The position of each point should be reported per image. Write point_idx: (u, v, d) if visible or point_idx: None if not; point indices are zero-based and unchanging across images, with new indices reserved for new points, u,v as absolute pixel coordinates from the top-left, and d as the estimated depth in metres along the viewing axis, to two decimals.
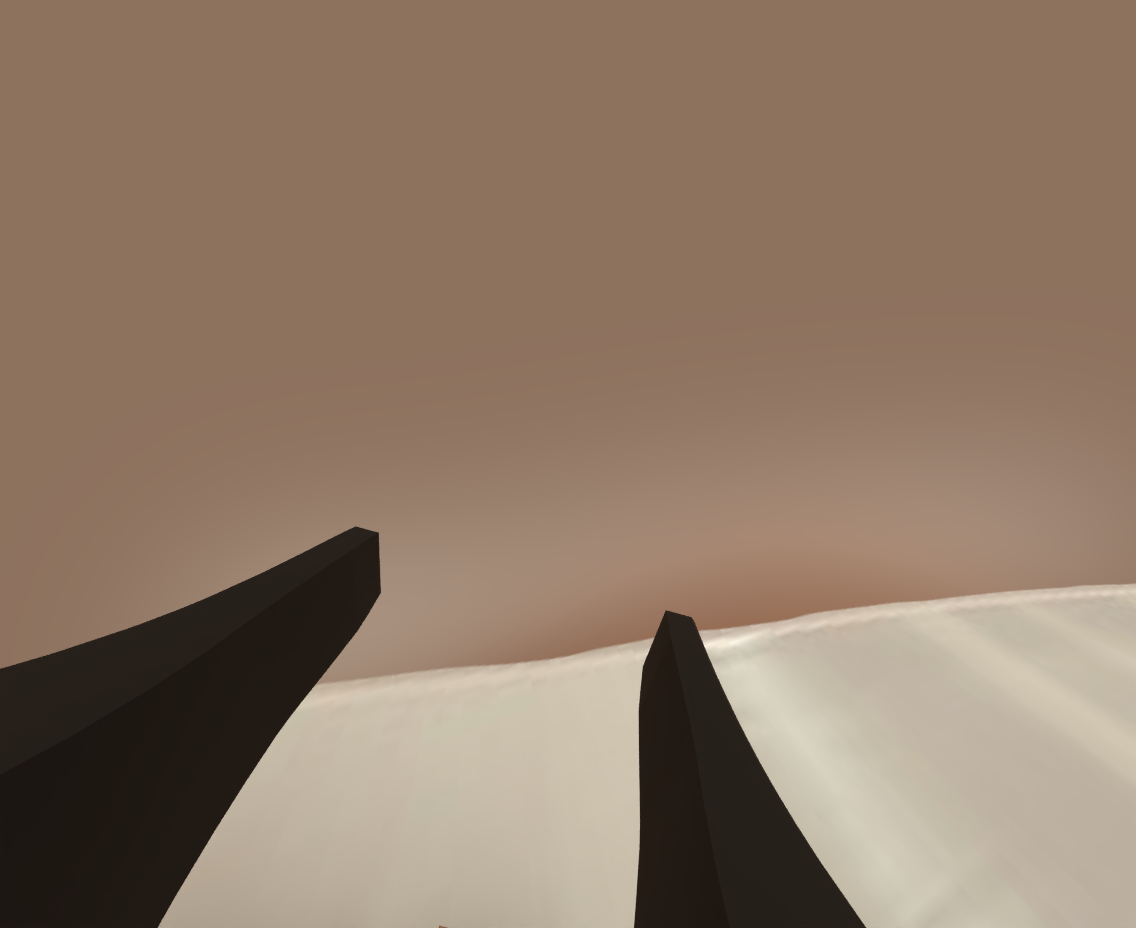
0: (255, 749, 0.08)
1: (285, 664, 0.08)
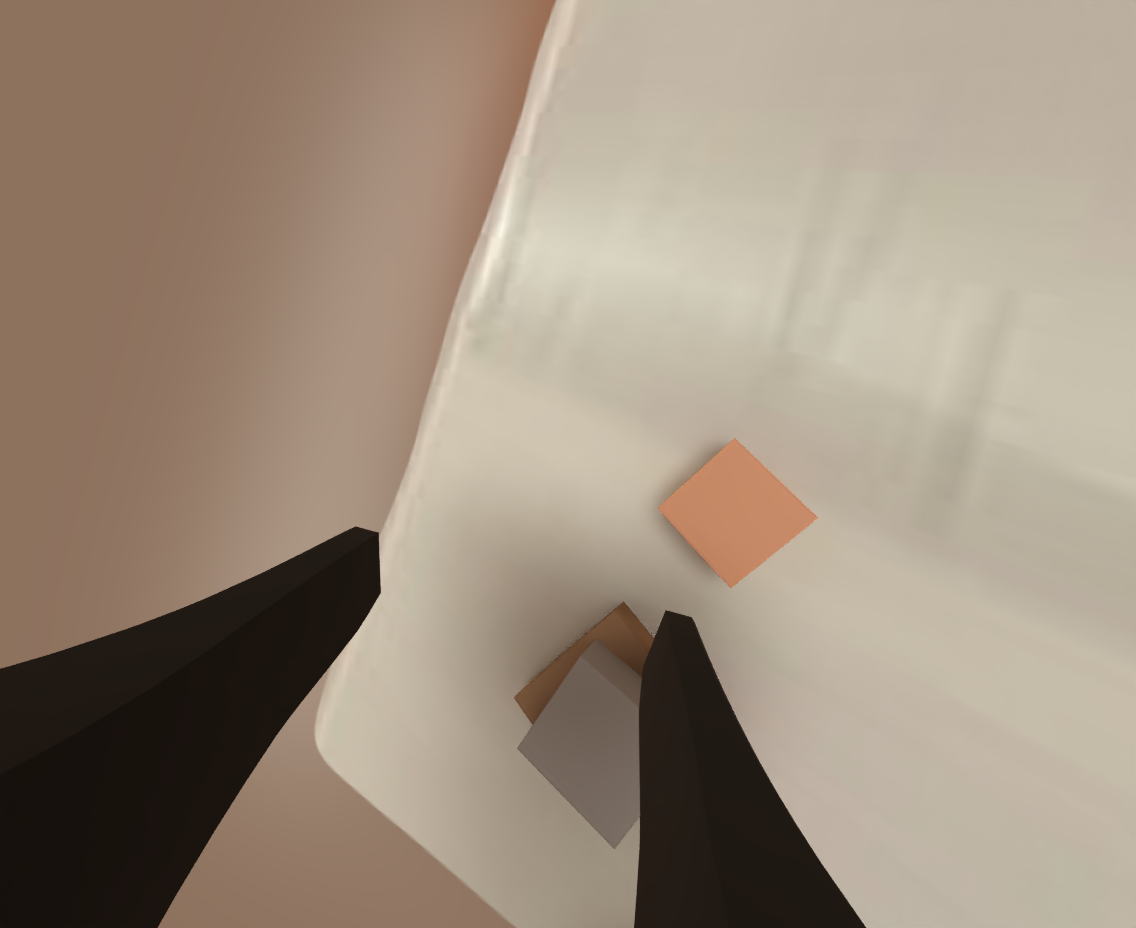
0: (255, 749, 0.08)
1: (284, 663, 0.08)
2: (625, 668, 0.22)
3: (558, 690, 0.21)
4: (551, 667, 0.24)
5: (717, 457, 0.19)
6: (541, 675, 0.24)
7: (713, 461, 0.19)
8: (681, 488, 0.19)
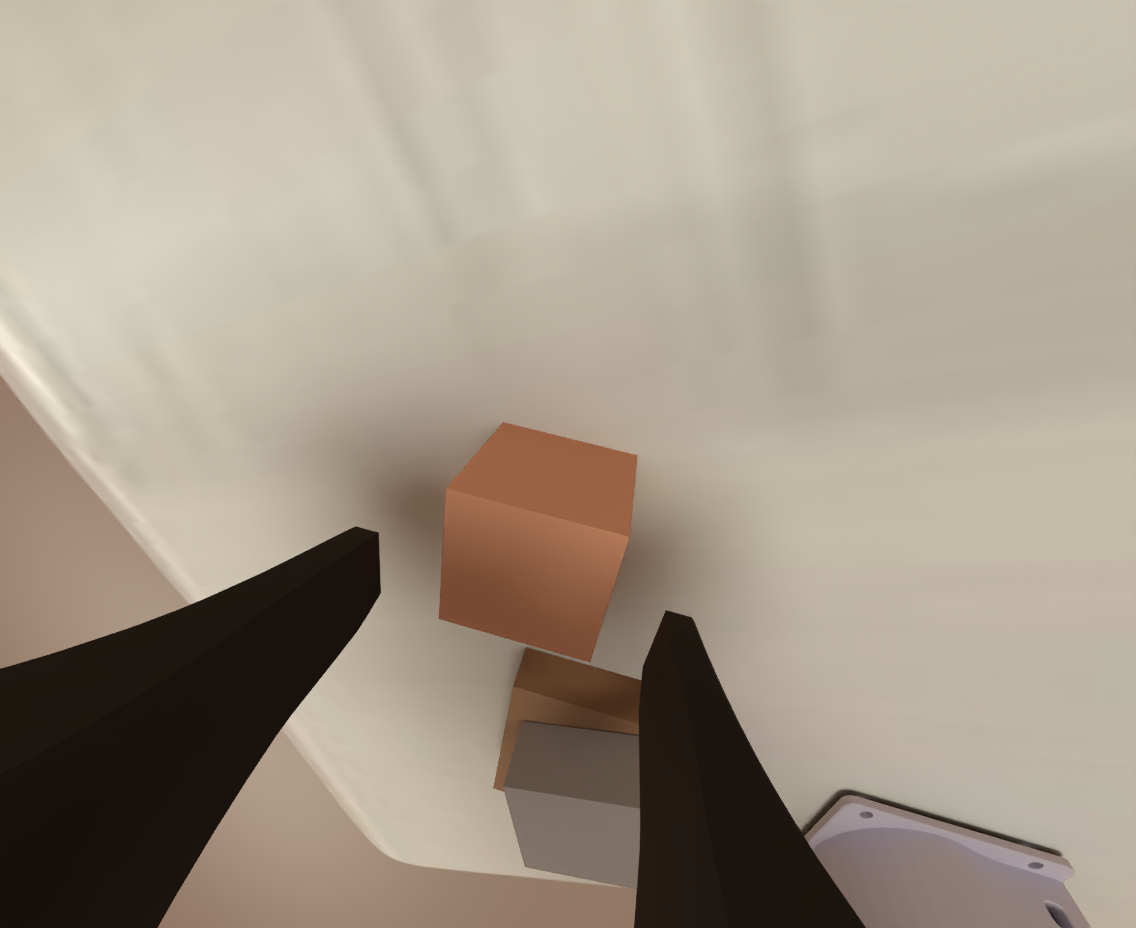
0: (255, 749, 0.08)
1: (284, 664, 0.08)
2: (566, 737, 0.17)
3: (513, 817, 0.17)
4: (501, 754, 0.20)
5: (448, 526, 0.11)
6: (499, 763, 0.20)
7: (449, 532, 0.11)
8: (443, 584, 0.12)
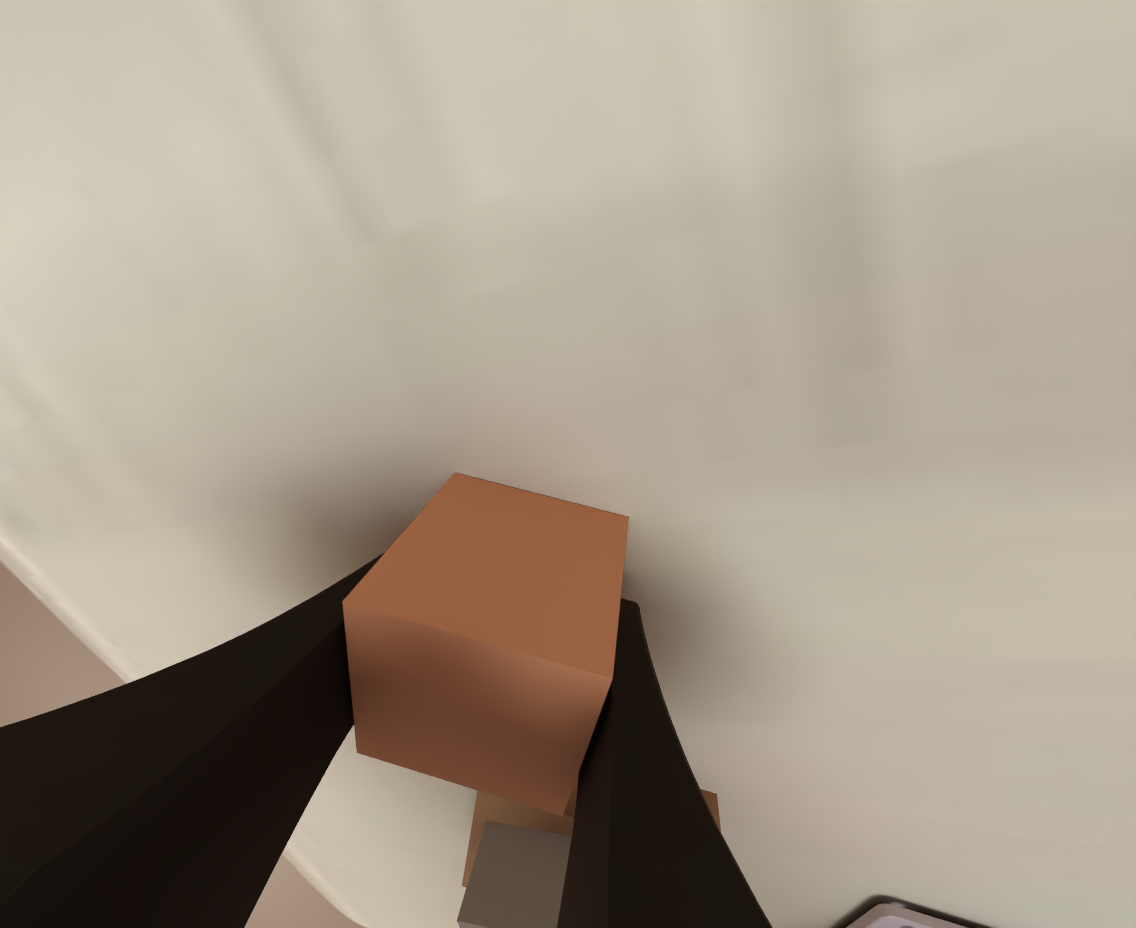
0: (318, 769, 0.08)
1: (346, 682, 0.08)
2: (539, 846, 0.14)
3: None
4: (469, 855, 0.16)
5: (352, 648, 0.08)
6: (467, 863, 0.17)
7: (355, 654, 0.08)
8: (356, 715, 0.08)
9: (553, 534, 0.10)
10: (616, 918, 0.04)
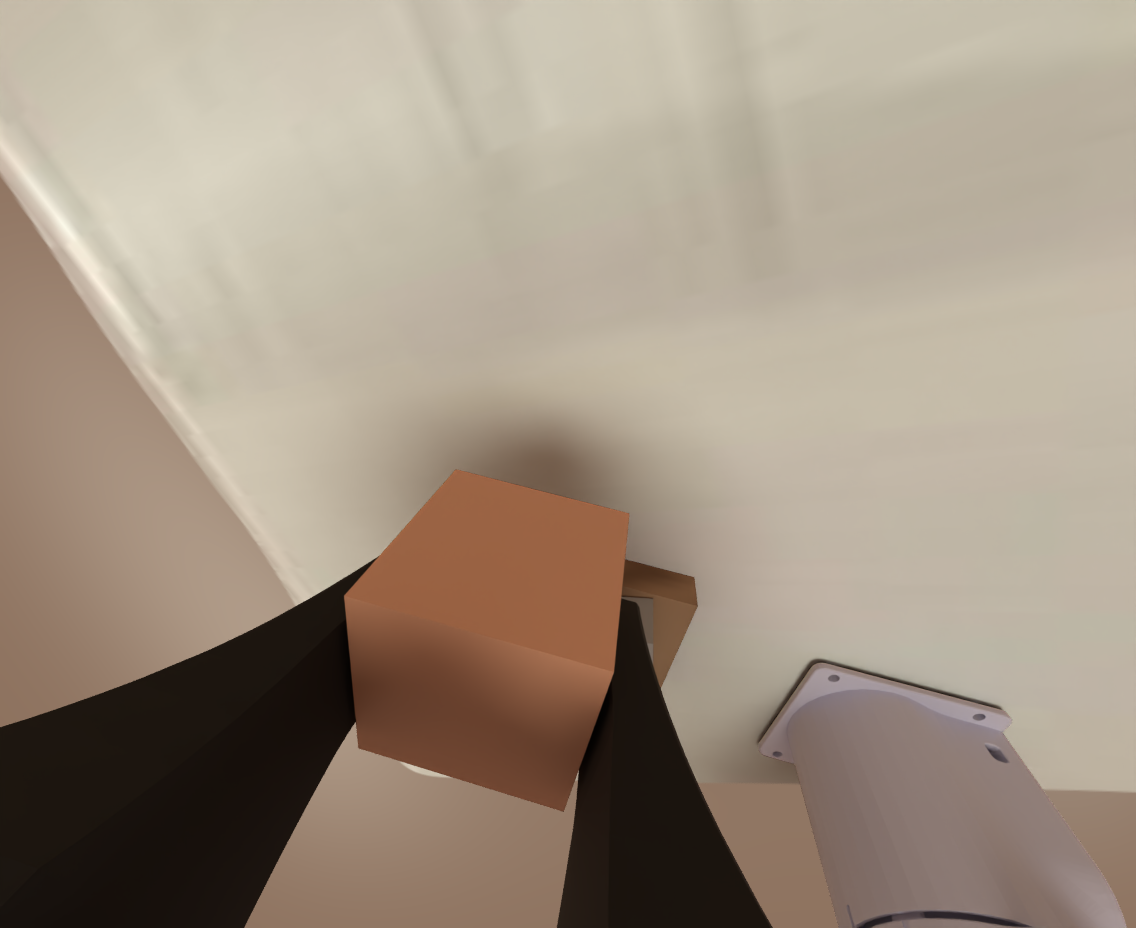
0: (318, 769, 0.08)
1: (346, 682, 0.08)
2: None
3: None
4: None
5: (354, 643, 0.08)
6: None
7: (357, 649, 0.08)
8: (357, 711, 0.09)
9: (554, 530, 0.10)
10: (616, 919, 0.04)
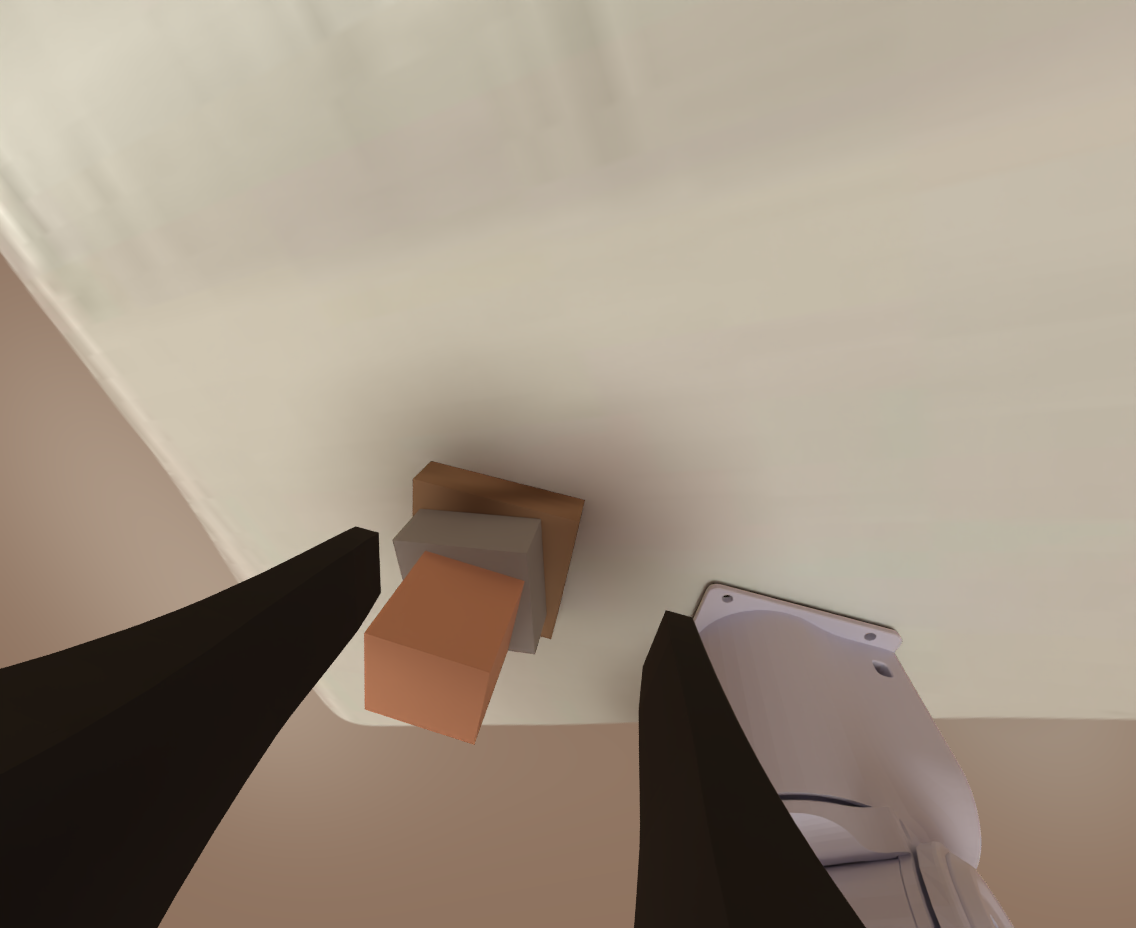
0: (255, 749, 0.08)
1: (284, 664, 0.08)
2: (455, 517, 0.20)
3: (403, 577, 0.20)
4: None
5: (367, 654, 0.15)
6: None
7: (368, 658, 0.15)
8: (366, 688, 0.16)
9: (477, 593, 0.17)
10: None
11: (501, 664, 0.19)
